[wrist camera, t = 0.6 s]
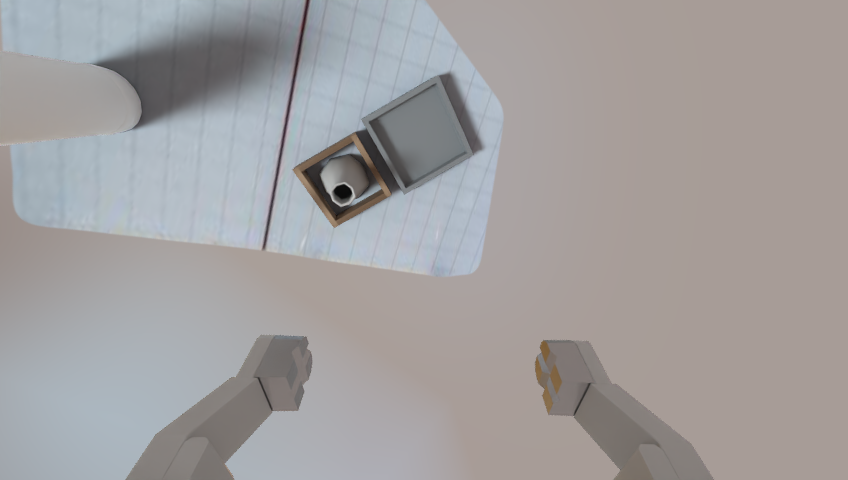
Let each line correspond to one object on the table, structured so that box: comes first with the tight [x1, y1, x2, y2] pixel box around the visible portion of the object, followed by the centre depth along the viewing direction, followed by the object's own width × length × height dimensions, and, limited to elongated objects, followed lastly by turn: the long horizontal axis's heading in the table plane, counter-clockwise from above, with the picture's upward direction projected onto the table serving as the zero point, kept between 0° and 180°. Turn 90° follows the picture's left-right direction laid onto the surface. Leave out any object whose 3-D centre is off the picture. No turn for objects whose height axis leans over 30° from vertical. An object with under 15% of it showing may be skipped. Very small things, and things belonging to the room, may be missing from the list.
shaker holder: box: [293, 132, 391, 228], centre depth 49 cm, size 10×10×3 cm
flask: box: [319, 154, 369, 207], centre depth 46 cm, size 7×7×10 cm
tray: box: [361, 75, 473, 194], centre depth 49 cm, size 12×12×2 cm
